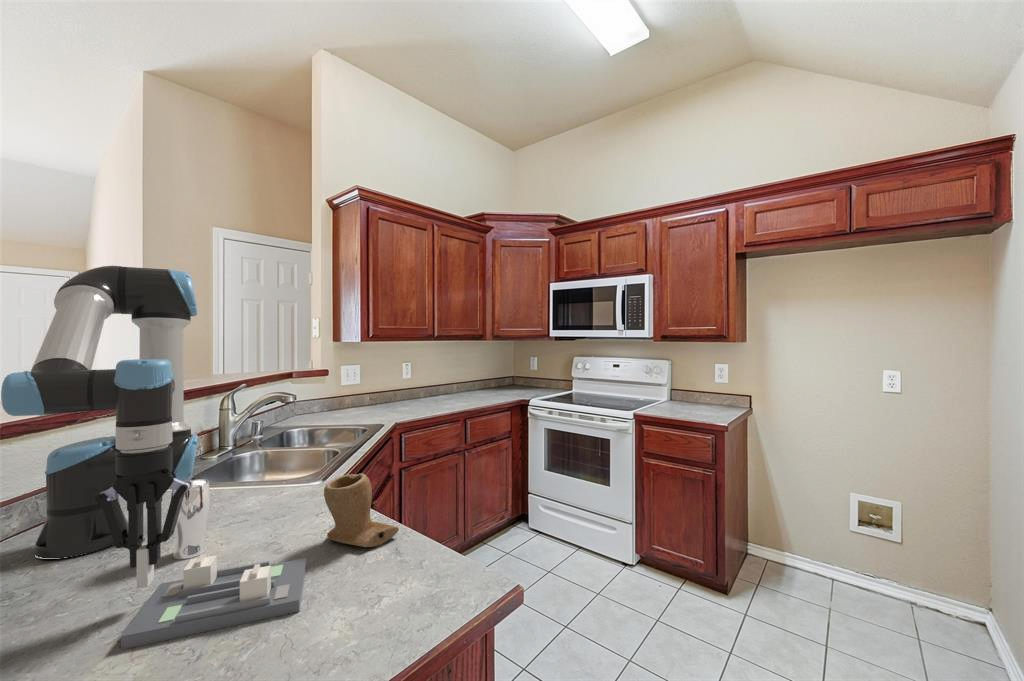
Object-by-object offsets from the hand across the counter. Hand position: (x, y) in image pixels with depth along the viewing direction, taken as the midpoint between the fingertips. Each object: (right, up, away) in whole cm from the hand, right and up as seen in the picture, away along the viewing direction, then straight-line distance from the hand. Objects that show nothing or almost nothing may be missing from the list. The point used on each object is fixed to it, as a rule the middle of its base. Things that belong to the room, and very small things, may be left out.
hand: (145, 583), depth 74 cm
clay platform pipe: (+28, -4, +24) cm, 37 cm away
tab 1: (+7, -2, +3) cm, 8 cm away
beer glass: (-6, -4, +19) cm, 21 cm away
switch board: (+14, -4, +1) cm, 14 cm away
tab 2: (+20, -2, -1) cm, 20 cm away
